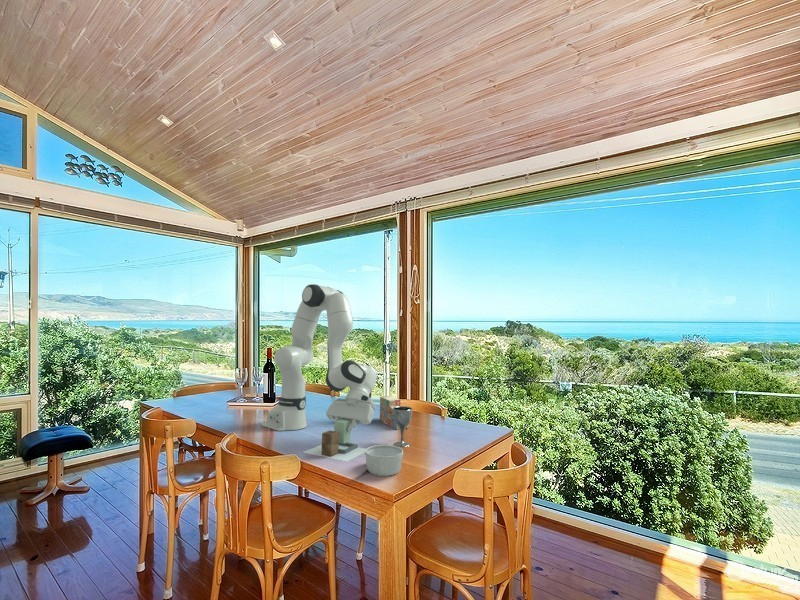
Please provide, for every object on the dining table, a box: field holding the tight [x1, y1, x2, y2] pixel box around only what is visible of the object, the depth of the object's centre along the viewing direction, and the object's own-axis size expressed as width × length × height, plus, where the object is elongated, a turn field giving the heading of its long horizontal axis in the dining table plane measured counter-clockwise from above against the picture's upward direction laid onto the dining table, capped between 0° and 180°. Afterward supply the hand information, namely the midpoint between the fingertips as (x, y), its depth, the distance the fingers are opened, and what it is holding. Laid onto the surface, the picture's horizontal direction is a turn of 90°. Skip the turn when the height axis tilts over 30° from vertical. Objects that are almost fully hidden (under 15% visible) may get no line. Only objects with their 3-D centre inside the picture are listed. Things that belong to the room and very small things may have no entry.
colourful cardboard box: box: [379, 395, 409, 430], centre depth 205 cm, size 21×6×12 cm, turn 25°
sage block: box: [333, 419, 352, 444], centre depth 159 cm, size 4×4×8 cm
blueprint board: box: [302, 442, 367, 462], centre depth 156 cm, size 20×16×2 cm
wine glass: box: [393, 405, 413, 448], centre depth 171 cm, size 8×8×15 cm
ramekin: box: [364, 444, 404, 477], centre depth 140 cm, size 13×13×7 cm
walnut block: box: [321, 429, 339, 457], centre depth 153 cm, size 4×4×8 cm
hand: (341, 430), depth 159 cm, fingers closed on sage block, 4 cm apart
